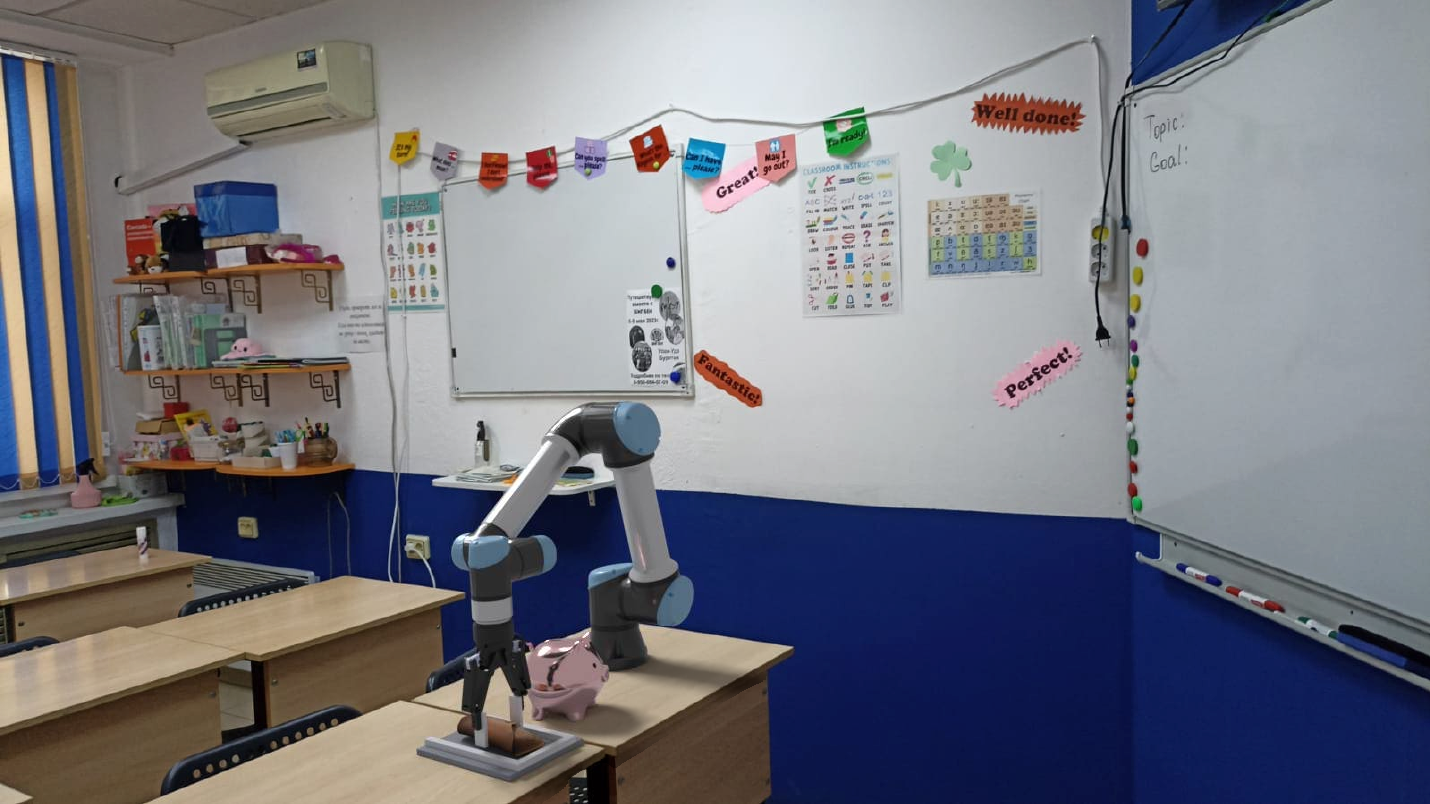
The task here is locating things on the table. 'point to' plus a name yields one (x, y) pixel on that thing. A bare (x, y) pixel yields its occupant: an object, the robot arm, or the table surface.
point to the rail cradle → (498, 752)
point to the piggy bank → (565, 677)
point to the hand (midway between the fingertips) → (499, 737)
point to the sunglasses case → (504, 735)
